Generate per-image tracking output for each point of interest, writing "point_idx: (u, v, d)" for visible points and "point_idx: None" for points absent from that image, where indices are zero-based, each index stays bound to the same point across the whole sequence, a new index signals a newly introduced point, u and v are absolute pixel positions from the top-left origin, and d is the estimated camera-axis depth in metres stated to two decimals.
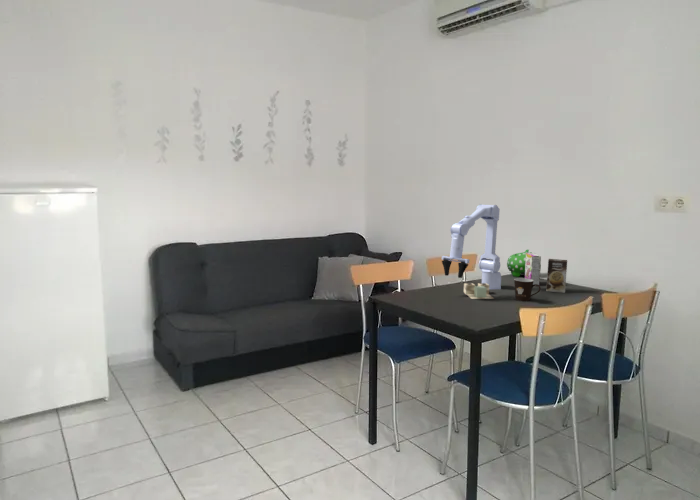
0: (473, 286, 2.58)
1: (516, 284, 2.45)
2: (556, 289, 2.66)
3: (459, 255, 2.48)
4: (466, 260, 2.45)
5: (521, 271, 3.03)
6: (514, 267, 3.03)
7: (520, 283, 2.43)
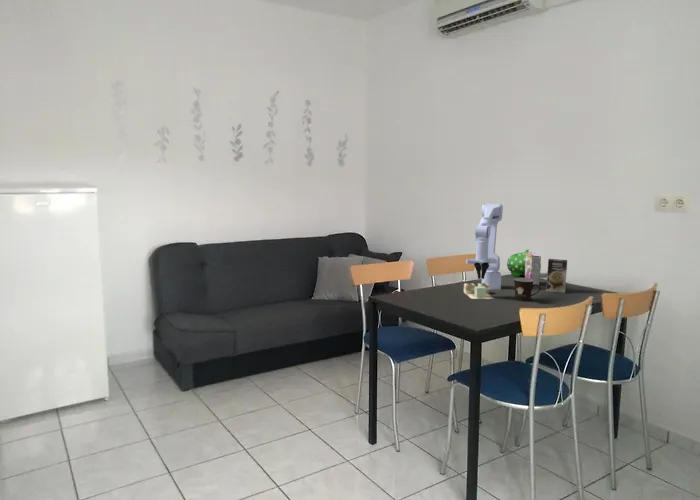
0: (473, 286, 2.58)
1: (516, 284, 2.45)
2: (556, 289, 2.66)
3: (487, 257, 2.50)
4: (496, 261, 2.50)
5: (521, 271, 3.03)
6: (514, 267, 3.03)
7: (520, 283, 2.43)
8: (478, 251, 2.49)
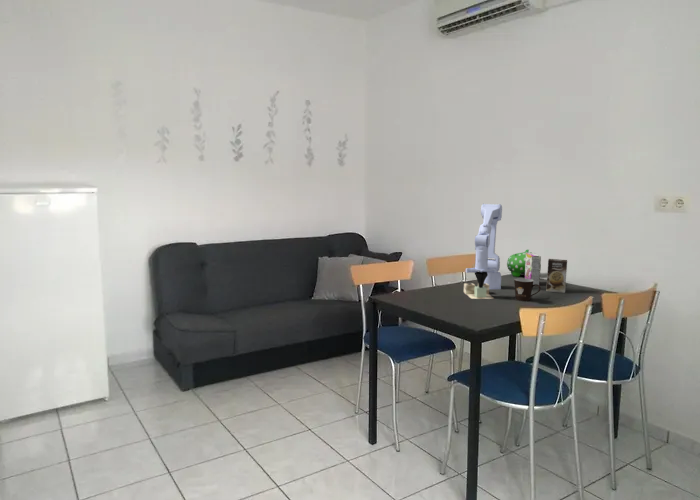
0: (473, 286, 2.58)
1: (516, 284, 2.45)
2: (556, 289, 2.66)
3: (487, 266, 2.51)
4: (495, 270, 2.51)
5: (521, 271, 3.03)
6: (514, 267, 3.03)
7: (520, 283, 2.43)
8: (478, 260, 2.49)
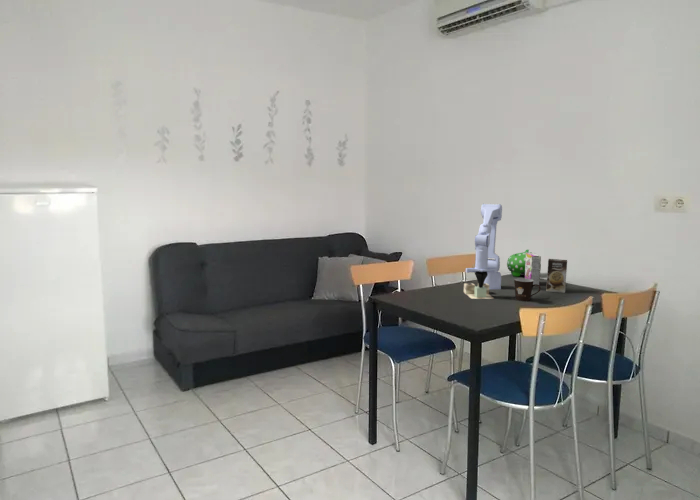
0: (473, 286, 2.58)
1: (516, 284, 2.45)
2: (556, 289, 2.66)
3: (487, 266, 2.51)
4: (495, 269, 2.51)
5: (521, 271, 3.03)
6: (514, 267, 3.03)
7: (520, 283, 2.43)
8: (478, 260, 2.49)
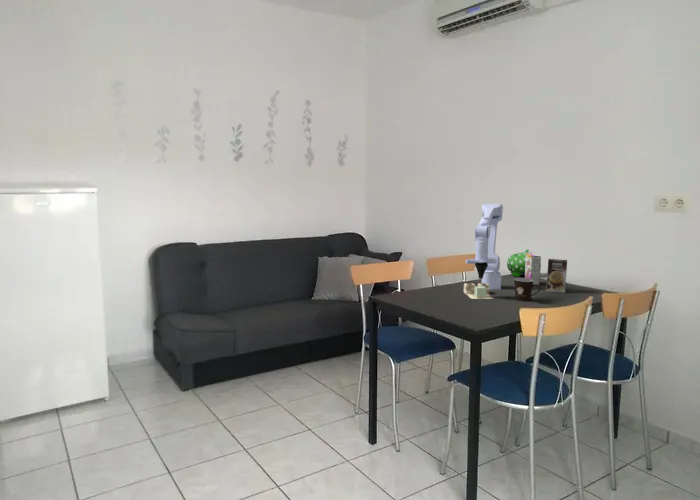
0: (473, 286, 2.58)
1: (516, 284, 2.45)
2: (556, 289, 2.66)
3: (487, 257, 2.50)
4: (496, 261, 2.51)
5: (521, 271, 3.03)
6: (514, 267, 3.03)
7: (520, 283, 2.43)
8: (478, 251, 2.49)
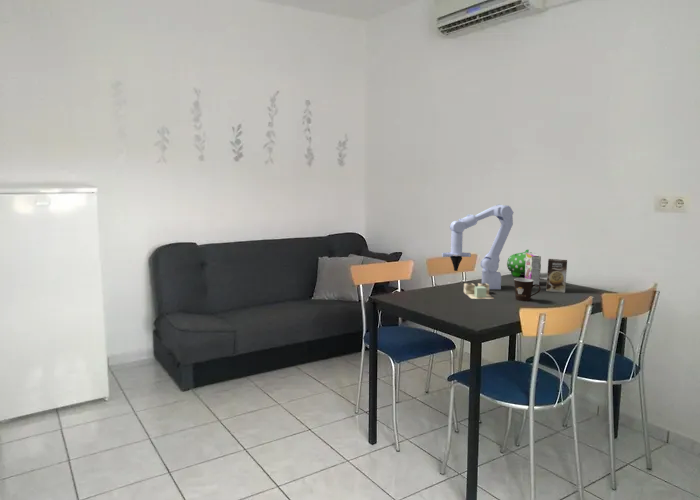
0: (473, 286, 2.58)
1: (516, 284, 2.45)
2: (556, 289, 2.66)
3: (461, 250, 2.67)
4: (469, 254, 2.68)
5: (521, 271, 3.03)
6: (514, 267, 3.03)
7: (520, 283, 2.43)
8: (453, 245, 2.66)
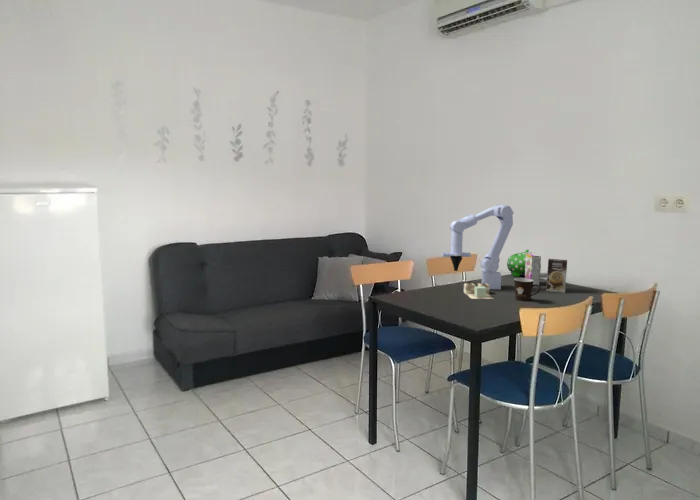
0: (473, 286, 2.58)
1: (516, 284, 2.45)
2: (556, 289, 2.66)
3: (461, 250, 2.67)
4: (469, 254, 2.68)
5: (521, 271, 3.03)
6: (514, 267, 3.03)
7: (520, 283, 2.43)
8: (453, 245, 2.66)
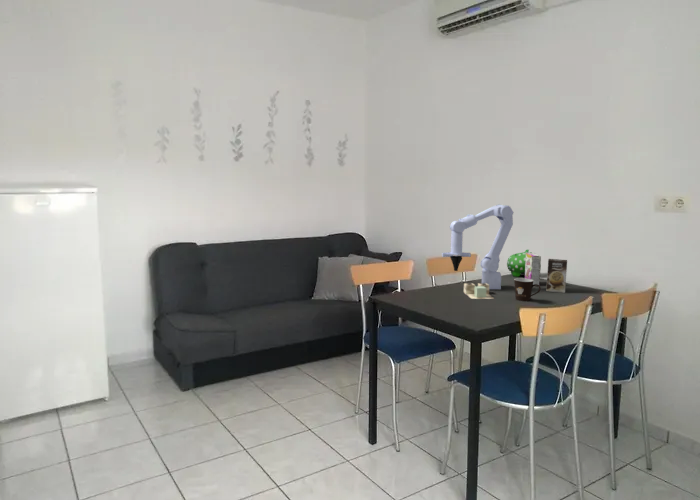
0: (473, 286, 2.58)
1: (516, 284, 2.45)
2: (556, 289, 2.66)
3: (461, 250, 2.67)
4: (469, 254, 2.68)
5: (521, 271, 3.03)
6: (514, 267, 3.03)
7: (520, 283, 2.43)
8: (453, 245, 2.66)
